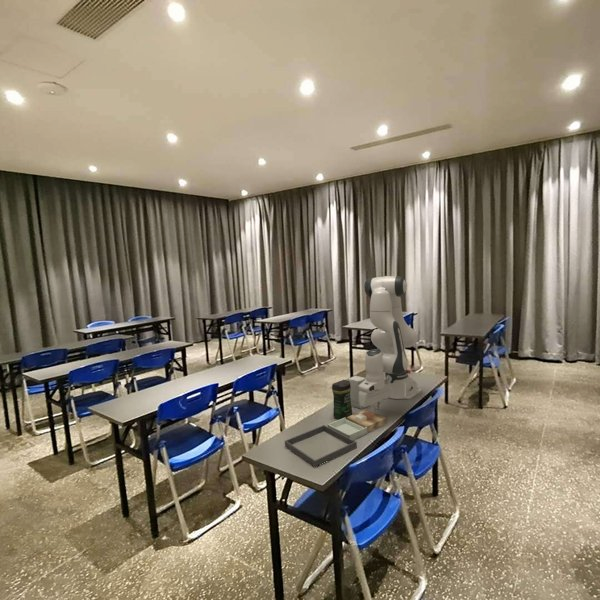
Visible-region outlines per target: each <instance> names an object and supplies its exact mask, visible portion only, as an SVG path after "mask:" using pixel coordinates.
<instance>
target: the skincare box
mask: <svg viewBox="0 0 600 600" xmlns="http://www.w3.org/2000/svg"><path fill="white" fill-rule="evenodd" d="M365 379H366V377H362V376H358V375H353V376H351V377H349V378H347V381H349V382H350V386H351V390H350V398H351V406H352V407H354V408H357V409H360V410H362V409H363V410H364V409H365V408H366V407H363V406H361V405H360V404H359V391H360V389H359V385H360V384H361V383H362V382H363V381H364V380H365Z"/></svg>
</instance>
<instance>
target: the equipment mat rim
mask: <svg viewBox="0 0 600 600" xmlns="http://www.w3.org/2000/svg"><path fill="white" fill-rule="evenodd" d="M322 432H326V433H327V434H329V435H331V436H333V437H336V438H337V439H338V440H340V441H341V442H344V443H346V445H345V446H343V447H340V448H337V450H334V451H332V452H330V453H328V454H326V455H323V456H321V457H319V458H316V459H314V458H312V457H311V456H310V455H308V454H307V453H305V452H304V451H302V450H300V449H299V448H298V447H296V446H294V445H293V444H296V443H299V442H301V441H303V440H305V439H308V438H310V437H313V436H315V435H318V434H319V433H322ZM357 444H358V442H357V441H355V440H352V439H350V438H348V437H346V436H344V435H342V434H340V433H338V432H337V431H335V430H333V429H331V428H329V427H328V425H324V424H323V425H321V426H318V427H315V428H313V429H311V430H309V431H306V432H303V433H301V434H299V435H296V436H293V437H291V438H288V439H286V440H284V447H285V448H287V449H288V450H289V451H291V452H293V453H294V454H295V455H297V456H298V457H300V458H301V459H303V460H304V461H305V462H307V463H308V464H309V465H311V466H312V465H313V466H312V467H314V468H317V467H319V466H321V465H320V464H322V463H324V462H326V461H328V460H330V461H332V460H334V459H336V458H338V457H339V456H340V457H341V456H342V455H345V454H347V453H349V452H350V451H353V450H354V449H357V447H358V445H357ZM337 456H338V457H337ZM335 457H336V458H335ZM333 458H334V459H333ZM331 459H332V460H331ZM328 462H329V461H328ZM326 463H327V462H326ZM324 464H325V463H324ZM318 465H319V466H318ZM322 465H323V464H322ZM316 466H317V467H316Z"/></svg>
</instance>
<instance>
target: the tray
mask: <svg viewBox="0 0 600 600" xmlns="http://www.w3.org/2000/svg"><path fill="white" fill-rule="evenodd" d="M327 427H329V428H331V429H333V430H335V431H337V432H338V433H340V434H342V435H344V436H346V437H348V438H350V439H352V440H354V441H355V440H357V439H359V438H361V437H363V436H365V435H367V434H368V433H367V427H365V428H364V427H361V426H359V425H357V424H355V423H353V422H351V421H349V420H347V419H346V418H342V419H336V420H335V421H333V422H330V423H328V424H327Z"/></svg>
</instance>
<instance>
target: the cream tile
mask: <svg viewBox="0 0 600 600" xmlns="http://www.w3.org/2000/svg"><path fill="white" fill-rule="evenodd" d="M355 420H356V421H359V422H363V421H366V420H367V416H366V415H363V414H358V415H356V416H355Z"/></svg>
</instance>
